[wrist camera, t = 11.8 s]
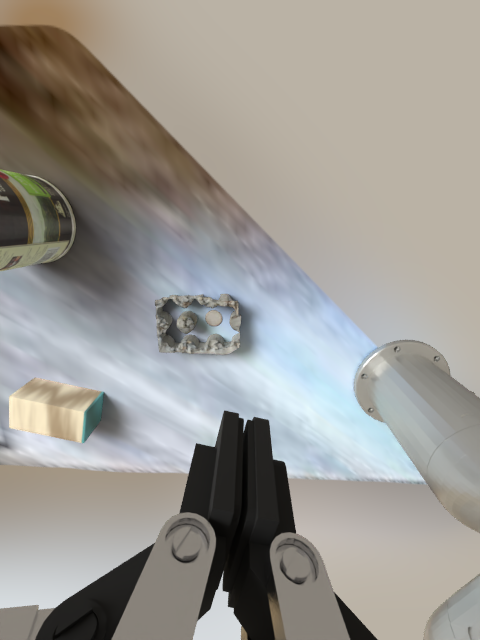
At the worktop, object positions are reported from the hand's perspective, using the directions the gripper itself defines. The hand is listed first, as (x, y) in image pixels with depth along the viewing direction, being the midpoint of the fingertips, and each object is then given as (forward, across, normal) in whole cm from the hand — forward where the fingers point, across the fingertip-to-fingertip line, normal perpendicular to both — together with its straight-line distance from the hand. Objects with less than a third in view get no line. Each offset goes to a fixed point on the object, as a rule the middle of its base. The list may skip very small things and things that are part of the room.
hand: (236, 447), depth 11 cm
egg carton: (+30, +5, +6) cm, 30 cm away
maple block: (+27, +16, +22) cm, 39 cm away
